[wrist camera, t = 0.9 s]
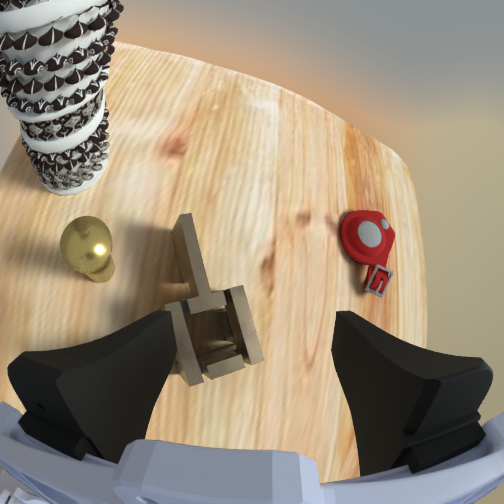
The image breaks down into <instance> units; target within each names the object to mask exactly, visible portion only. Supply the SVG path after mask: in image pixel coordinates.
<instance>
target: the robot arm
mask: <svg viewBox="0 0 504 504" xmlns="http://www.w3.org/2000/svg"><path fill="white" fill-rule="evenodd" d="M176 352H177V344H176V338H175V333H174V327H173V321H172V314H171V311H162V310H158V311H155V312H153V313H151V314H149V315H147V316H145V317H143V318H141V319H139V320H138V321H136V322H134V323H132V324H130V325H128V326H126V327H124V328H122V329H120V330H118V331H116V332H114V333H112V334H110V335H107V336H105V337H103V338H100V339H97V340H94V341H92V342H88V343H85V344H81V345H77V346H73V347H69V348H63V349H57V350H49V351H25V352H23V353H21V354H20V355H19V356H18V357H17V358H16V359H15V360H14V361H12V362H11V363H10V364H9V366H8V377H9V380H10V382H11V384H12V387H13V388H14V390H15V392H16V394H17V395H18V397H19V399H20V400H21V402H22V404H23V405H24V407H25V409H26V410H27V411H26V412H25V414H24V415H22V414H21V413H20V412H19V411H18V410H17V409H15V408H14V407H12V406H10V405H9V404H7V403H6V402H4V401H2V402H1V403H0V466H1V467H2V468H3V470H2V471H1V473H0V504H474V503H475V502H477V501H478V500H480V499H481V498H483V497H484V496H486V495H487V494H489V493H490V492H492V491H493V490H494V489H496V488H497V487H498V486H499V485H500V484H502V482H504V412H502V413H501V414H499V415H497V416H496V417H494V418H492V419H490V420H488V421H487V422H486V423H485V424H484V425H482V426H480V424H479V423H478V421H479V420H480V418H481V415H480V414H479V412H478V411H477V410H478V408H479V406H480V404H481V403H482V401H483V399H484V398H485V396H486V394H487V392H488V391H489V388H490V386H491V383H492V379H493V371H492V369H491V368H490V367H489V366H488V365H487V363H486V362H485V361H484V360H483V359H482V358H479V357H462V356H454V355H448V354H443V353H439V352H434V351H431V350H427V349H424V348H421V347H418V346H415V345H413V344H410V343H408V342H405V341H403V340H401V339H398V338H396V337H394V336H393V335H391V334H389V333H387V332H385V331H383V330H382V329H380V328H378V327H376V326H375V325H373V324H372V323H370V322H368V321H367V320H365V319H364V318H362V317H360V316H359V315H357V314H355V313H354V312H352V311H336V319H335V327H334V334H333V341H332V348H331V352H332V357H333V361H334V366H335V369H336V372H337V375H338V378H339V380H340V383H341V386H342V389H343V391H344V394H345V397H346V399H347V402H348V405H349V408H350V412H351V416H352V420H353V425H354V430H355V436H356V442H357V449H358V457H359V465H360V477H358V478H352V479H347V480H341V481H334V482H327V483H320V481H319V474H318V469H317V465H316V462H315V460H312V459H310V458H308V457H305V456H303V455H301V454H299V453H296V452H288V451H277V450H240V449H223V448H211V447H201V446H193V445H186V444H179V443H173V442H167V441H161V440H145V436H146V432H147V428H148V424H149V421H150V417H151V414H152V411H153V408H154V405H155V403H156V401H157V398H158V396H159V394H160V392H161V390H162V388H163V386H164V384H165V381H166V379H167V377H168V375H169V373H170V371H171V368H172V366H173V363H174V359H175V356H176Z"/></svg>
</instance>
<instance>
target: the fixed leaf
mask: <svg viewBox="0 0 504 504" xmlns="http://www.w3.org/2000/svg"><path fill="white" fill-rule="evenodd" d="M180 304H181V308H182V312H183V315H185V311H184V308H183V304H182V301H180ZM159 309H160V310H162V306H160V307H159ZM162 311H163V310H162ZM217 313H218V316H219V320H220V323H221V327H222V330H223V333H224V337H225V340H226V341H228V342H233V343H235V341H234V337H233V334H232V330H231V327H230V323H229V320H228V316H227V313H226V310H222V311H219V312H217ZM230 351H232V352H235V353H238V351H237V347H236V344H234V345H231V346H228V347H225V348H222V349H219V350H216V351H213V352H209V353H206V354H203V355H200V356H196V359H197V362H198V365H199V368H200V371H201V374H203V371H202V368H201V365H200V362H199V361H203V360H206V359H209V358H212V357H215V356H218V355H221V354H224V353H227V352H230ZM175 359H176V360H177V358H176V356H175ZM175 364H176V367H177V370H178V373H179V375H180V376H181V377H182V378H183V376H182V373H181V370H180V367H179V364H178V362H176V363H175ZM183 380H184V379H183Z"/></svg>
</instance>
